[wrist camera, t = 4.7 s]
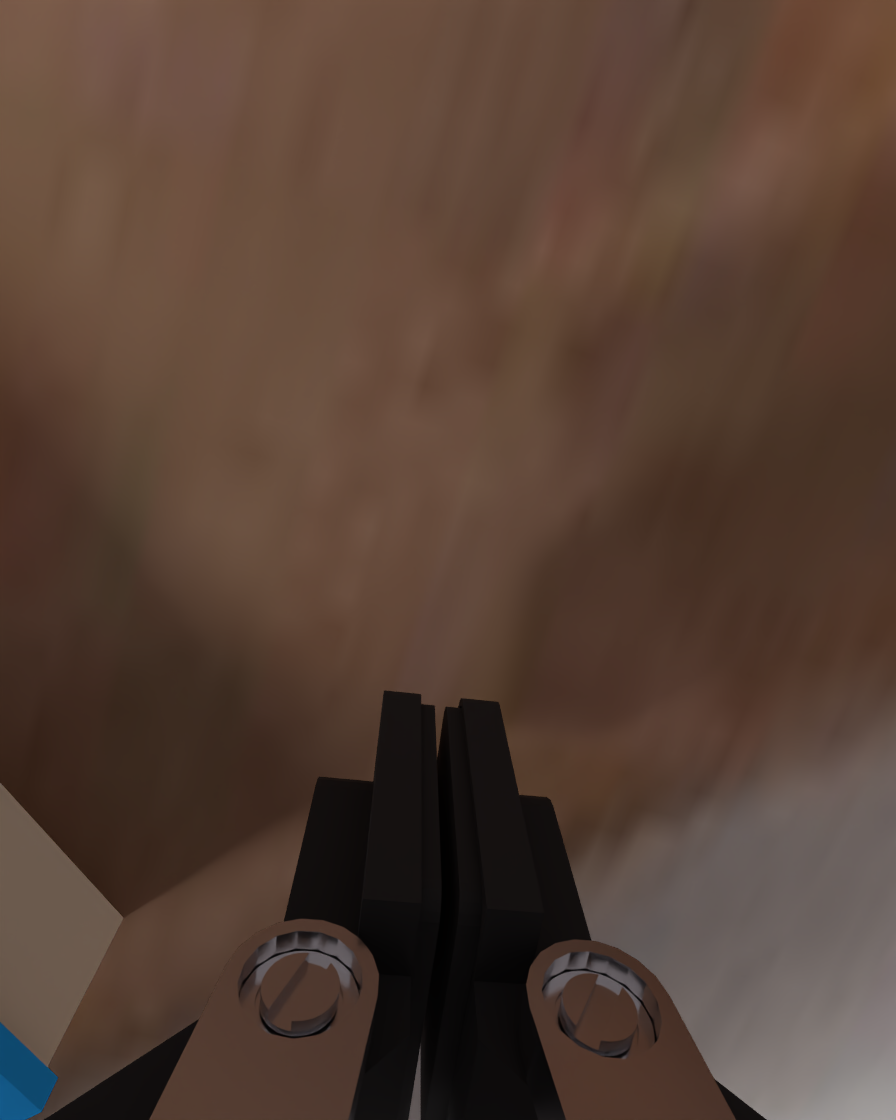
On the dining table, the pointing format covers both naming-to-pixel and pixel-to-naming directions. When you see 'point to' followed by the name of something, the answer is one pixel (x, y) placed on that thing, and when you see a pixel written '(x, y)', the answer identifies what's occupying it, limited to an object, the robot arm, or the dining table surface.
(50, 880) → the book
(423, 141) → the dining table surface
